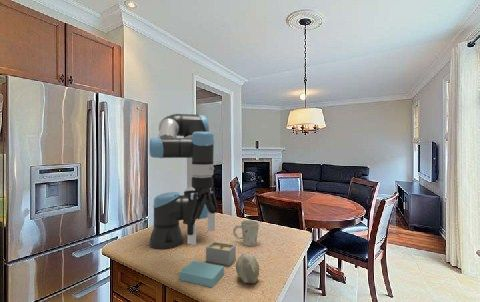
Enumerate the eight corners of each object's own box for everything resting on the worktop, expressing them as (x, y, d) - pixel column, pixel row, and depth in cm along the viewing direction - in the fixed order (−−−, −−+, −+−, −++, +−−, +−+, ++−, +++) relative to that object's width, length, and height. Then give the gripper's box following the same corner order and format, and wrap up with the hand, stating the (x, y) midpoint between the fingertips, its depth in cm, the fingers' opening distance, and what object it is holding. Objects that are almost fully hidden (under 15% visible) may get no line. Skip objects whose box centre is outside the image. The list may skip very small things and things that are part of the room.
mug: (257, 247, 111) (257, 225, 111) (230, 245, 113) (230, 224, 113) (259, 241, 119) (259, 220, 119) (234, 239, 122) (234, 219, 121)
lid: (179, 279, 83) (179, 271, 83) (193, 267, 92) (193, 260, 92) (212, 287, 79) (212, 279, 79) (223, 274, 87) (224, 266, 87)
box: (205, 262, 96) (206, 247, 96) (213, 255, 103) (213, 241, 102) (229, 266, 93) (229, 251, 93) (235, 259, 99) (235, 244, 99)
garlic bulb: (253, 294, 80) (255, 270, 76) (229, 284, 83) (230, 261, 79) (262, 272, 88) (264, 250, 84) (240, 264, 91) (242, 243, 87)
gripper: (192, 181, 72) (192, 252, 73) (226, 173, 95) (226, 227, 96) (171, 180, 75) (171, 248, 75) (209, 172, 98) (209, 224, 99)
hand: (202, 236), depth 86 cm, fingers open, 13 cm apart
